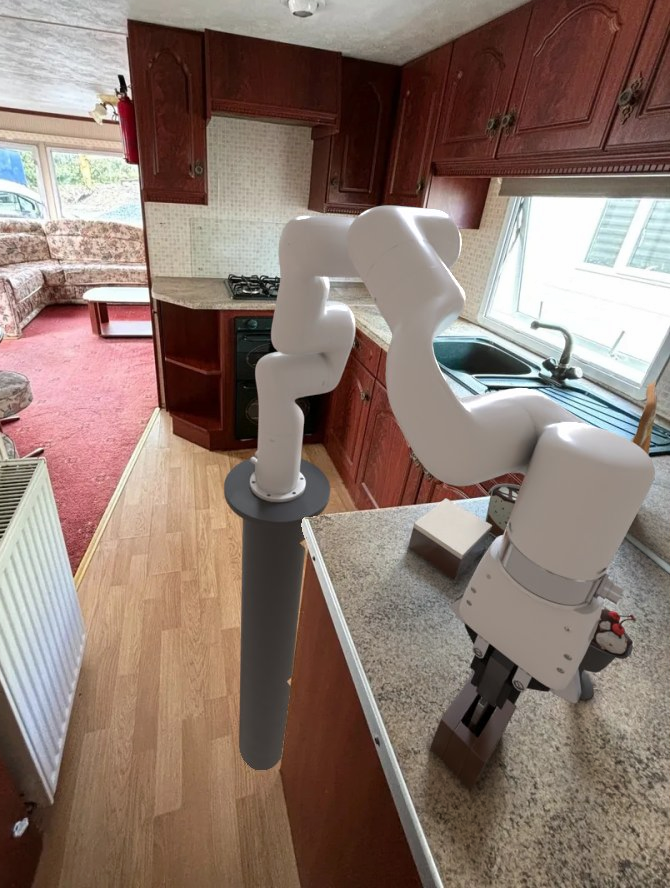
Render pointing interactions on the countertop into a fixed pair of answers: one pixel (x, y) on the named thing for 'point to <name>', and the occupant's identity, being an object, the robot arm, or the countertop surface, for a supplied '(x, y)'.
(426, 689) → the countertop surface
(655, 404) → the pancake mix bag
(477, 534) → the cake
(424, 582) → the countertop surface
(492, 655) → the knife
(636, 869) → the countertop surface
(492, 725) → the knife block
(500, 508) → the ice cream dessert
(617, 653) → the sundae
